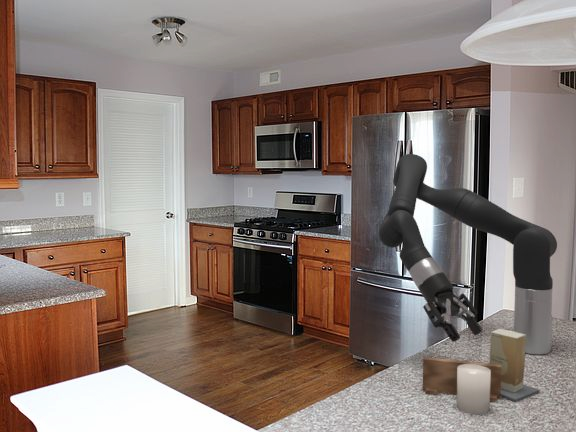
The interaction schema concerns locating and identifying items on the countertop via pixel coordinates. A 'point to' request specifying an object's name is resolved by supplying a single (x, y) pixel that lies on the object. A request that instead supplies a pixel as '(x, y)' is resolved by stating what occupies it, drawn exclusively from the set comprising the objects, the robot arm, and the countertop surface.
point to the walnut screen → (455, 376)
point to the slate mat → (519, 393)
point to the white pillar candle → (473, 389)
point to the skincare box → (509, 357)
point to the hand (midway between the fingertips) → (468, 336)
